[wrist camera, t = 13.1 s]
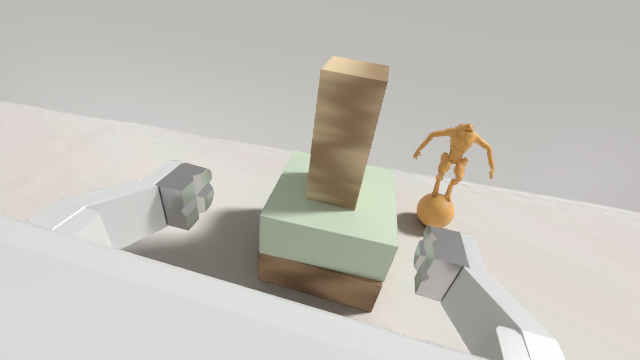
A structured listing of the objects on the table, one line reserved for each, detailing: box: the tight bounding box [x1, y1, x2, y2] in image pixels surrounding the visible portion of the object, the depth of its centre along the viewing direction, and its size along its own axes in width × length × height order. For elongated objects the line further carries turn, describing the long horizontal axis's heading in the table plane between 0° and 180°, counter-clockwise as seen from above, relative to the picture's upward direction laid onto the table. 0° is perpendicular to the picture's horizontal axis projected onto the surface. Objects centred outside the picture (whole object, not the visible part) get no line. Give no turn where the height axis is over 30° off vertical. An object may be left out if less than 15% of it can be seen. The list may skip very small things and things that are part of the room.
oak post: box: [305, 56, 389, 211], centre depth 22 cm, size 4×4×10 cm
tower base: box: [258, 251, 382, 312], centre depth 28 cm, size 10×10×4 cm
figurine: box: [414, 124, 494, 228], centre depth 32 cm, size 8×6×12 cm
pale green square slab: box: [259, 151, 398, 282], centre depth 26 cm, size 10×10×4 cm
